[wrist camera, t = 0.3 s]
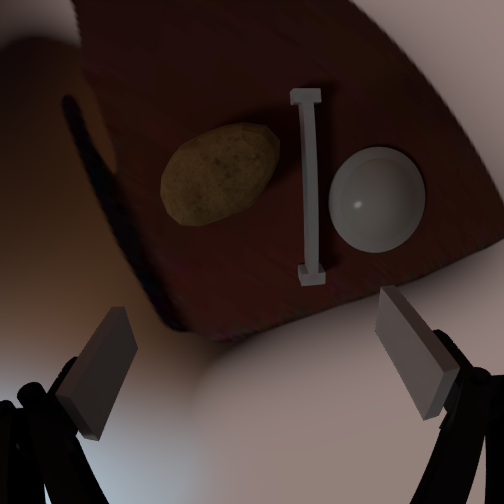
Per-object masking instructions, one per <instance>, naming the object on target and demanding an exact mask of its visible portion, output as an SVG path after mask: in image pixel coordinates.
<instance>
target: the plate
mask: <svg viewBox="0 0 504 504" xmlns="http://www.w3.org/2000/svg"><path fill="white" fill-rule="evenodd" d="M424 206H425V188H424V183H423V180H422V177H421V175H420V173H419V171H418V169H417V167H416V166H415V165H414V163H413V162H412V161H411V160H410V159H409V158H408V157H407V156H405V155H404V154H402V153H401V152H399V151H396V150H394V149H391V148H386V147H369V148H365V149H362V150H359V151H357V152H356V153H354V154H352V155H351V156H349V157H348V158H347V159H346V160H345V161H344V162H343V163H342V164H341V165H340V167H339V168H338V169H337V171H336V173H335V174H334V177H333V179H332V181H331V184H330V188H329V193H328V210H329V215H330V218H331V221H332V223H333V225H334V227H335V229H336V231H337V232H338V233H339V235H340V236H341V237H342V238H343V239H344V240H345V241H346V242H347V243H348V244H350V245H351V246H353V247H354V248H357V249H359V250H362V251H365V252H384V251H388V250H391V249H393V248H395V247H397V246H399V245H400V244H402V243H403V242H404V241H406V240H407V239H408V238H409V237H410V236H411V235H412V233H413V232H414V231H415V229H416V228H417V226H418V224H419V222H420V220H421V218H422V215H423V211H424Z"/></svg>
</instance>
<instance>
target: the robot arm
mask: <svg viewBox="0 0 504 504" xmlns="http://www.w3.org/2000/svg"><path fill="white" fill-rule="evenodd" d="M375 332H376V334H377V335H378V337H379V339H380V341H381V342H382V344H383V346H384V347H385V349H386V351H387V353H388V355H389V356H390V358H391V360H392V362H393V364H394V366H395V367H396V369H397V371H398V373H399V375H400V377H401V378H402V380H403V382H404V384H405V386H406V387H407V390H408V391H409V393H410V395H411V397H412V399H413V401H414V403H415V405H416V407H417V409H418V411H419V413H420V414H421V417H422V419H423V420H427V419H430V418H433V417H436V416H439V414H440V412H441V410H442V408H443V406H444V408H445V410H446V411H447V414H446V416H445V418H444V419H443V421H442V423H441V425H440V427H439V428H440V429H441V430H440V433H439V436H438V439H437V441H436V444H435V447H434V450H433V452H432V455H431V457H430V460H429V462H428V465H427V467H426V470H425V472H424V474H423V476H422V479H421V481H420V483H419V485H418V488H417V490H416V492H415V494H414V496H413V498H412V500H411V502H410V504H466V502H467V499H468V496H469V493H470V490H471V487H472V483H473V480H474V477H475V474H476V470H477V466H478V463H479V458H480V455H481V450H482V446H483V441H484V437H485V443H486V488H485V504H504V375H493V376H491V374H490V373H489V372H488V371H487V370H486V369H483V368H481V367H473V366H472V364H471V363H470V362H469V361H468V359H467V358H466V357H465V356H464V354H463V353H462V352H461V351H460V349H458V347H457V346H456V344H455V343H453V341H452V339H450V337H449V336H448V335H447V334H446V333H444V332H442V331H441V330H439V329H437V330H433V331H432V330H431V329H430V328H429V327H428V325H427V324H426V323H425V321H424V320H423V319H422V318H421V316H420V315H419V314H418V313H417V312H416V311H415V309H414V308H413V307H412V306H411V305H410V303H409V302H408V301H407V300H406V299H405V297H404V296H403V295H402V294H401V293H400V292H399V290H398V289H397V288H396V287H395V286H394V285H390V286H382V287H381V289H380V298H379V306H378V313H377V321H376V328H375ZM137 350H138V347H137V344H136V341H135V338H134V335H133V333H132V329H131V326H130V323H129V320H128V317H127V313H126V310H125V307H111V309H110V311H109V312H108V313H107V315H106V316H105V318H104V319H103V321H102V322H101V323H100V325H99V326H98V328H97V329H96V331H95V332H94V334H93V335H92V337H91V338H90V340H89V341H88V343H87V344H86V346H85V347H84V349H83V350H82V352H81V353H80V355H79V357H73V358H72V359H70V360H69V361H68V362H67V363H66V364H65V366H64V367H63V369H62V372H60V374H59V375H58V378H56V380H55V381H54V383H53V384H52V386H51V388H50V389H49V391H48V393H46V392H45V390H44V389H43V387H42V385H41V384H40V383H38V382H31V383H28V384H26V385H24V386H23V387H22V388H21V389H20V390H19V392H18V393H17V399H18V400H19V402H20V403H21V405H22V406H23V408H15V406H14V405H13V403H12V402H11V401H9V400H3V401H0V504H46V501H45V489H44V484H45V487H46V490H47V493H48V496H49V498H50V501H51V504H109V503H108V501H107V499H106V497H105V495H104V494H103V492H102V490H101V488H100V486H99V484H98V482H97V480H96V478H95V476H94V474H93V472H92V470H91V468H90V465H89V463H88V461H87V459H86V457H85V454H84V452H83V450H82V447H81V445H80V443H79V440H78V439H77V438H76V434H77V432H78V430H79V432H80V433H81V435H82V436H83V437H84V438H86V439H90V440H95V441H99V440H100V437H101V435H102V432H103V430H104V427H105V424H106V422H107V419H108V417H109V415H110V412H111V410H112V407H113V405H114V403H115V400H116V398H117V395H118V393H119V391H120V388H121V386H122V384H123V381H124V379H125V376H126V374H127V372H128V370H129V368H130V365H131V363H132V361H133V358H134V356H135V354H136V352H137Z"/></svg>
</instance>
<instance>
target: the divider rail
mask: <svg viewBox="0 0 504 504" xmlns="http://www.w3.org/2000/svg"><path fill="white" fill-rule="evenodd" d="M290 99H291V105H299V119H300V135H301V152H302V173H303V198H304V237H305V264H302V265H298V276H299V279H300V282H301V285H302V286H307V285H319V284H325V271H324V269H323V267H322V265H321V263H318V260H319V223H318V176H317V151H316V132H315V116H314V105H316V104H318V103H320V102H321V90H320V88H294V89H293V90H292V91H291V92H290Z"/></svg>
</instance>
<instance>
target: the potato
mask: <svg viewBox="0 0 504 504" xmlns="http://www.w3.org/2000/svg"><path fill="white" fill-rule="evenodd" d="M279 158H280V140H279V139H278V138H277V137H276V136H275V134H274V133H273V132H272V131H271V130H270V129H269V128H268V127H267V126H266V125H260V124H253V123H246V122H240V123H235V124H229V125H224V126H221V127H219V128H216V129H213V130H210V131H208V132H205V133H203V134H201V135H199V136H197V137H195V138H193V139H191V140H189V141H188V142H186V143H184V144H183V145H181V146H180V147H179V148H178V150H177V151H176V152H175V153H174V155H173V156H172V157H171V159H170V161H169V163H168V165H167V167H166V169H165V171H164V173H163V175H162V177H161V197H162V200H163V203H164V205H165V208H166V210H167V213H168V214H169V215H170V216H171V217H172V218H174V219H175V220H176V221H177V222H178V223H179V224H180V225H190V226H202V225H206V224H209V223H213V222H216V221H218V220H221V219H223V218H225V217H228V216H230V215H233V214H236V213H239V212H241V211H244V210H246V209H247V208H248V207H250V206H251V205H252V204H253V203H255V202H256V200H257V199H258V197H259V196H260V194H261V193H262V191H263V190H264V188H265V187H266V185H267V183H268V182H269V180H270V179H271V177H272V176H273V173H274V171H275V168H276V166H277V163H278V161H279Z"/></svg>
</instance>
